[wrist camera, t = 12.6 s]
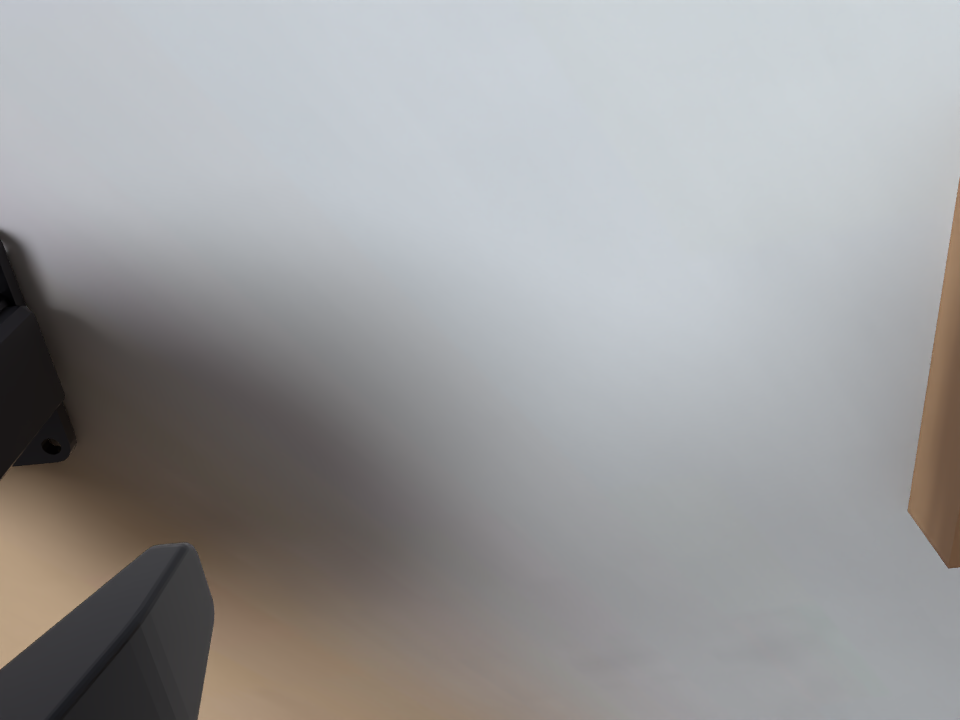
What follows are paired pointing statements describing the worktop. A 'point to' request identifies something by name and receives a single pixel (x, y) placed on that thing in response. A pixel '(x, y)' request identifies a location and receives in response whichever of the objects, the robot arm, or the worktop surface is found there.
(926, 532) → the walnut block
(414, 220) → the worktop surface
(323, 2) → the worktop surface
